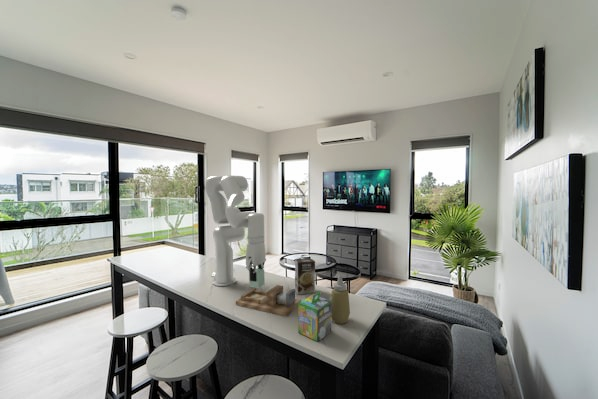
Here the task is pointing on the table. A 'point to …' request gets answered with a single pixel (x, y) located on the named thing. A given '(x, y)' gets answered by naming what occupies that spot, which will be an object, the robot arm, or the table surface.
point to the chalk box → (314, 317)
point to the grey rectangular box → (286, 298)
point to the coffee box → (304, 276)
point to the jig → (266, 301)
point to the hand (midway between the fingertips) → (256, 278)
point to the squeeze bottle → (340, 302)
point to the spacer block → (257, 279)
